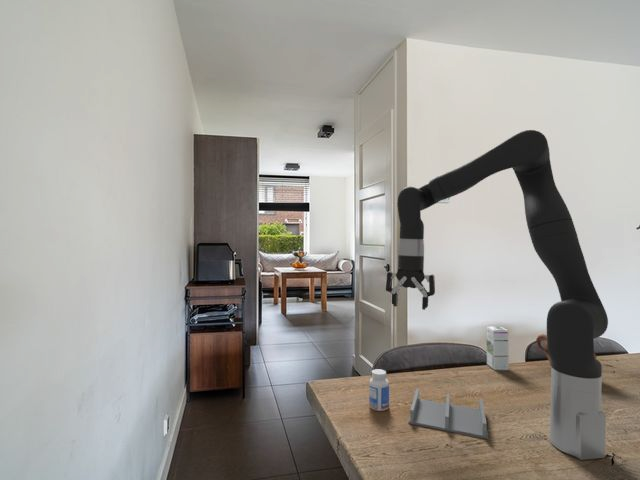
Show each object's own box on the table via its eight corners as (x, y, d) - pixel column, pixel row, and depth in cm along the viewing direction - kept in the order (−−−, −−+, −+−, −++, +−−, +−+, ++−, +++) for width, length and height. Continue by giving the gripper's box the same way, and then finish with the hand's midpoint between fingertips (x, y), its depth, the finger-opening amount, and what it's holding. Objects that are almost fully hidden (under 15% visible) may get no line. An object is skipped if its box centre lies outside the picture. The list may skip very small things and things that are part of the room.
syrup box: (509, 370, 126) (509, 330, 126) (492, 370, 126) (493, 329, 126) (501, 364, 132) (501, 326, 132) (485, 364, 132) (486, 325, 132)
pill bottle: (388, 402, 100) (388, 368, 100) (389, 412, 94) (390, 375, 94) (368, 401, 100) (369, 367, 100) (369, 410, 95) (369, 374, 95)
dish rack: (414, 400, 102) (414, 387, 102) (483, 412, 95) (484, 399, 95) (408, 423, 89) (408, 409, 89) (488, 439, 82) (488, 424, 82)
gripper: (437, 254, 106) (435, 308, 106) (390, 252, 112) (389, 303, 113) (433, 255, 99) (431, 312, 100) (384, 253, 106) (382, 307, 106)
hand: (409, 307), depth 106 cm, fingers open, 8 cm apart
